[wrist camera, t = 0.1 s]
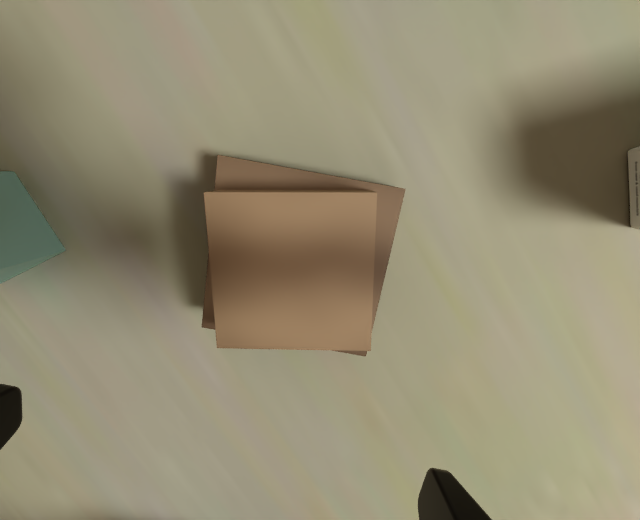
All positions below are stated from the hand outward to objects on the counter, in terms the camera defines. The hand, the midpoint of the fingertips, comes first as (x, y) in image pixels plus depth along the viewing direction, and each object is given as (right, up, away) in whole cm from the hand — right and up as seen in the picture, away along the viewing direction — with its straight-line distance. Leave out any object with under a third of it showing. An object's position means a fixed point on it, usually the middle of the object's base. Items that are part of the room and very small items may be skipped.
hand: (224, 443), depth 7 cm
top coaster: (+1, +4, +11) cm, 12 cm away
